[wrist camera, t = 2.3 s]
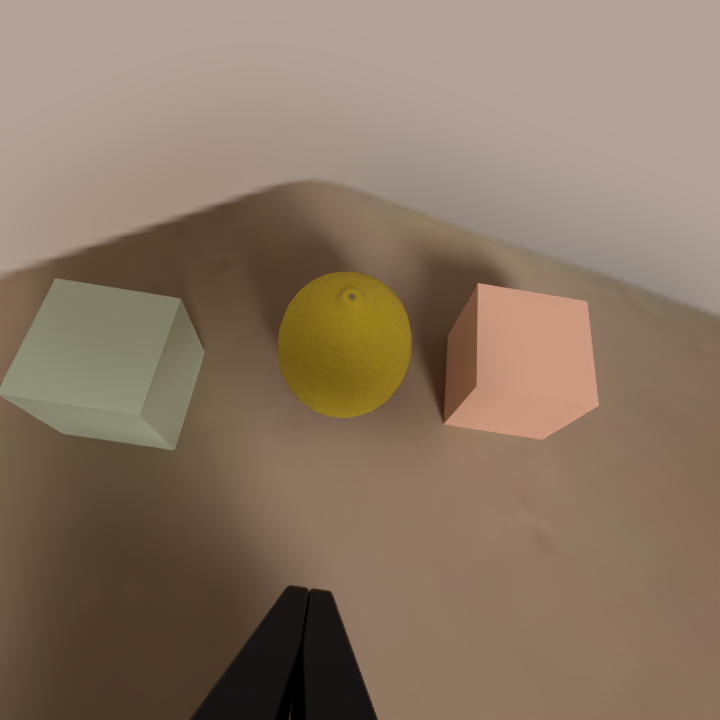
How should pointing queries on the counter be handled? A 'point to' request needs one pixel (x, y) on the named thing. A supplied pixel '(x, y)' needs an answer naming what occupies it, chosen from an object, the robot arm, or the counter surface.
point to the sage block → (107, 364)
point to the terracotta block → (519, 363)
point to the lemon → (344, 344)
